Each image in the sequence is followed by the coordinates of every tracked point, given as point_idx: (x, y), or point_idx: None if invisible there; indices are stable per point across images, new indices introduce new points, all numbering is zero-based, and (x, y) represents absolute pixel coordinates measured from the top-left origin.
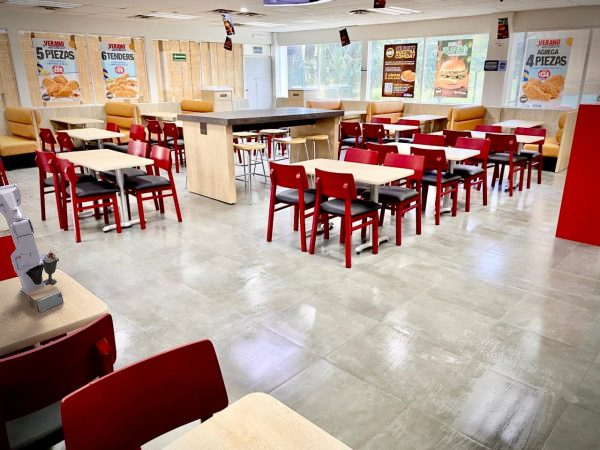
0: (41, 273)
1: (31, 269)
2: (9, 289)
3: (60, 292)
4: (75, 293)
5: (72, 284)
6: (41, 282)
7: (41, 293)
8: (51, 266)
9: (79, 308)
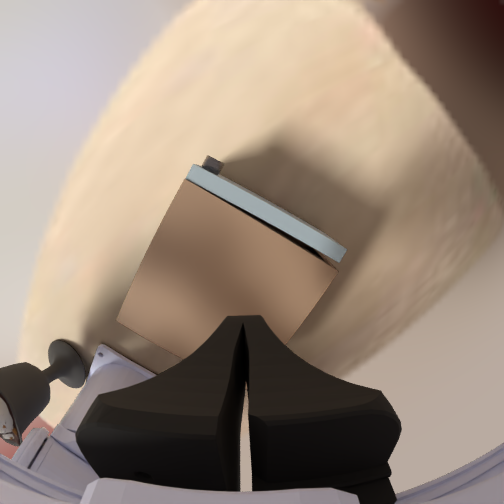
0: (202, 361)
1: (372, 491)
2: None
3: (199, 166)
4: (111, 169)
5: (47, 251)
6: (232, 317)
7: (239, 297)
8: (14, 384)
9: (261, 45)
